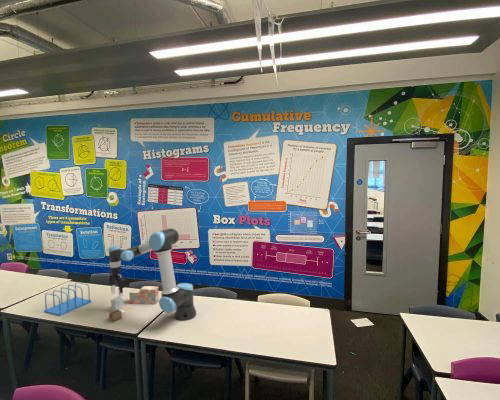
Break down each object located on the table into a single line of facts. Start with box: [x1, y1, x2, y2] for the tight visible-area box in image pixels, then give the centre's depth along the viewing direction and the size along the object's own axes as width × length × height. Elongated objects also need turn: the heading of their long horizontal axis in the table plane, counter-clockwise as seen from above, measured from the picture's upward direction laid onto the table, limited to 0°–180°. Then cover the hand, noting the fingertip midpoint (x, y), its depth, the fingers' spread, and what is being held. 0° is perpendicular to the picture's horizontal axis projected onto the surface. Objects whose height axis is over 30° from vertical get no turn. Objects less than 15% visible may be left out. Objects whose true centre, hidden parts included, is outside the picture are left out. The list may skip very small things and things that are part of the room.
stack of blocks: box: [128, 285, 160, 305], centre depth 215 cm, size 21×6×12 cm, turn 87°
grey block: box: [110, 296, 124, 311], centre depth 204 cm, size 6×6×8 cm
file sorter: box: [43, 281, 92, 317], centre depth 207 cm, size 25×17×15 cm
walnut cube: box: [108, 309, 123, 323], centre depth 188 cm, size 6×6×6 cm
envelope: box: [108, 303, 135, 313], centre depth 201 cm, size 16×16×1 cm
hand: (117, 295), depth 203 cm, fingers open, 10 cm apart
